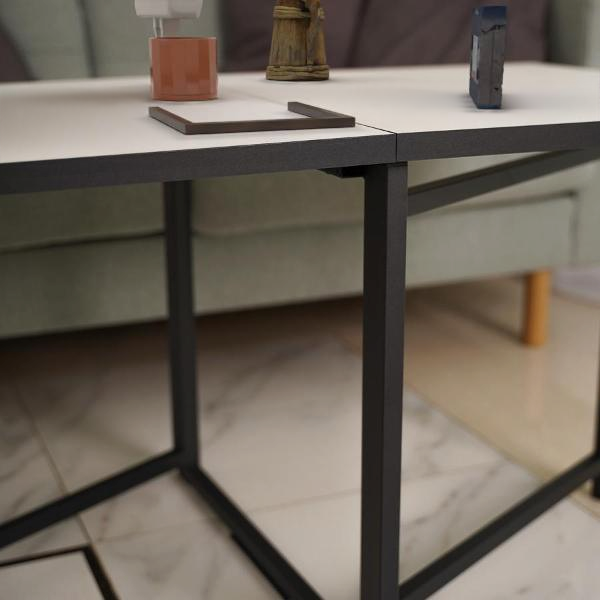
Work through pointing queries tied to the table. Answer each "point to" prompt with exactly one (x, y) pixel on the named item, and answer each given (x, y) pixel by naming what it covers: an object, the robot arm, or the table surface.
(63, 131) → the table surface
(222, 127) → the frame
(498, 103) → the vhs cassette tape
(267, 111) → the table surface
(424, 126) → the table surface
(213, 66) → the cup
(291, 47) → the wooden mug
